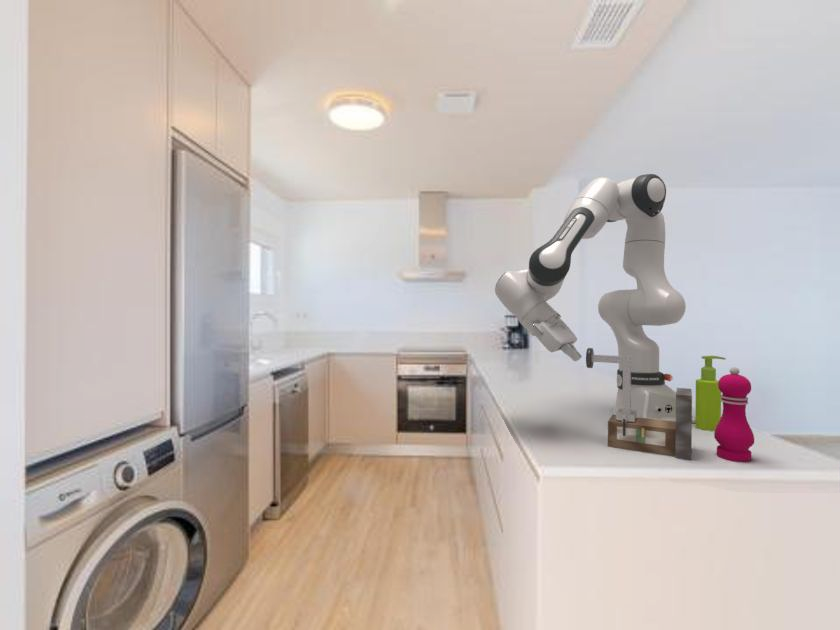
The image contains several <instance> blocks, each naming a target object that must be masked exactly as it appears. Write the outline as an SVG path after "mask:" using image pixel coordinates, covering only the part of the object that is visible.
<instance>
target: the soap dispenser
mask: <svg viewBox="0 0 840 630" xmlns="http://www.w3.org/2000/svg"><path fill="white" fill-rule="evenodd" d="M701 359H704V366H703V367H701V368H700V369H701V371H700V378H699V379H698V378H697V379H696V380H695V417H696V418H695V423H694V424H695V428H697V429H699V430H703V431H709V432H715V429H716V426H717V424H718V423H719V421H720V419H721V417H722V402H721V395H722V392H721V391H720V390H719V388H718V382H719V380H717V375H716V374H717V369H716V368H715V367H713V360H715V359H716V360H723V361H724V360H726V359H727V358H725V357H723V356H719V355H702V356H701Z"/></svg>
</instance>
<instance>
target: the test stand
mask: <svg viewBox="0 0 840 630" xmlns="http://www.w3.org/2000/svg"><path fill="white" fill-rule="evenodd" d="M675 392H676V422H674V421H665V420H656V419H648V418H639V417H637V418H636V420H635V422H628V421H627V422H626V435H625V436H623V423H622V421H620V420H616V415H613V414H612V415H611V416H610V417H609V419H608V420H607V447H611V448H617V449H625V450H630V451H631V450H632V451H637V452H643V453H651V454H655V455H656V454H657V455H663V456H671V457H675V459H681V460H687V461H692V444H693V443H692V439H693V437H692V436H693V435H692V433H693V430H692V429H693V428H692V427H693V423H692V416H693V393H692V388H685V387H676V390H675ZM641 428H645V433H644V437H641Z"/></svg>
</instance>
